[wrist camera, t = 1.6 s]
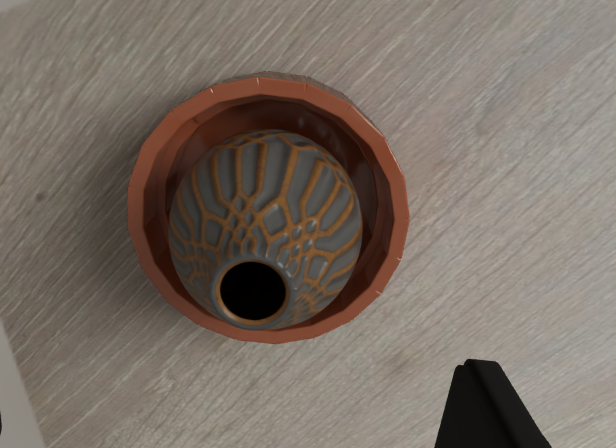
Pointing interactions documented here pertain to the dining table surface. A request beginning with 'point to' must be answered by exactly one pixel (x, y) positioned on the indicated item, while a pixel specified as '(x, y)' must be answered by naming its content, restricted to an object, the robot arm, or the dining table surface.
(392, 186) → the bowl
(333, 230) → the vase
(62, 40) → the dining table surface
